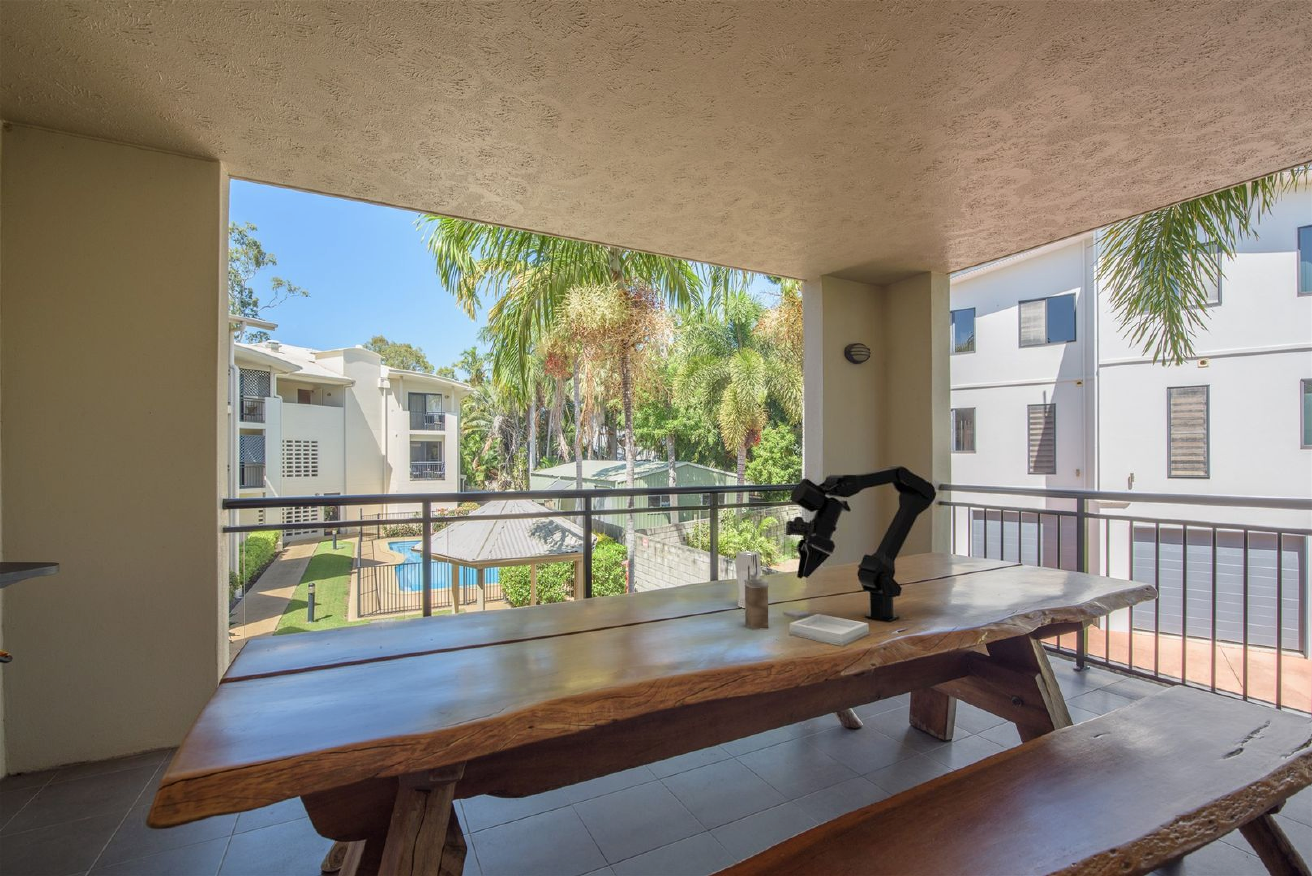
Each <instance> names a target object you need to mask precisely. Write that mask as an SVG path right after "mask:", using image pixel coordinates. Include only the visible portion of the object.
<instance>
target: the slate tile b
mask: <svg viewBox="0 0 1312 876" xmlns="http://www.w3.org/2000/svg"><path fill="white" fill-rule="evenodd" d="M783 614H785V615H784V616H786V615H788V616H787V617H790V616H791V618H794V619H797V618H799V619H804V618H807V617H810V616H812V614H811V612H808V611H805V610H800V609H791V610H785V611H783ZM783 614H782V615H783Z"/></svg>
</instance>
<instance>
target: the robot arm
mask: <svg viewBox="0 0 1312 876" xmlns="http://www.w3.org/2000/svg"><path fill="white" fill-rule="evenodd" d="M887 484H892V486H893V488H894V490H895V491H897V492H898V493H899V495H898V505H899V506H898V510H897V512H896V513H895V515H894V517H893V518H892V521H891V522H890V524H889V527H888V528H887V530H886V532H885V534H884V536H883V538H882V539H881V541H880V543H879V545H878V547H877V549H876V551H875V552H874V553H873V554H872V555H871V554H868V553H867V554H864V555H863V557H862V560H861V562H860V564H859V565H857V568H858V570H857V573H856V575H857V577H858V582H859V583H860V585H861V586H862V587H861V588H862V590H863V592H868V593H869V613H867V614H865V615H864V618H868V619H873V620H878V621H884V622H885V621H886V622H891V621H894V620H896V619H898V618H900V615H899V614H895V607H894V598H896V597H899V596H901V593H902V589H903V588H902V587H901V585H900V584H899V583H898V582H897V581H896V580H895V579H894V577H895V575H896V567H895V561H896V559H897V557H898V555H899V553H900V551H901V550H902V548H903V545H904V543H905V541H906V540H907V537H908V535H909V533H910V532H911V529H912V528H913V526H914V524H915V522H916V520H917V518H918V517H919V515H920V514H922V513H924V511H926V510H927V509H929V507H930V506H931V504H932V503H933V502H934V500H935V499H936V496H937V492H936V490H935V487H934V485H933V484H932V483H931V482H929V481H927V480H925V478H923V477H921V476H919V475H917V474H915V473H913V472H911V471H910V470H909V469H908V468H907V467H905V466H901V465H900V466H889V467H888V468H883V469H878V470H873V471H868V472H862V473H858V474H829V475H828V476H826V477H825V480H824V481H823V482H822V483H820V484H818V485H817V484H816V483H814V482H813V481H812V480H810V479H809V478H802V479H801V481H800V483H798V484H797V485H796V486H795V487H794V489H792V491H791V493H790V500H791V502H792V503H793V504H796V505H798V506H799V507H801V508H803V509H804V510H806V511H808V512H810V513H813V512H815V513H814V515H813V518H812V519H811V520H809V521H808V522H807V521H805V520H804V518H803V517H802V516H795V517H794V518H793V520H787V521H786V522H785V535H786V536H801V537H802V539H800V540H798V542H797V545H796V547H795V549H796V551H797V553H798V555H799V563H798V569H797V574H796V575H797V576H796V578H798V579H802V578H809V577H810V576H811V575H812V574H813V573H814V572H815V571H816V570H818V568H819V567H820V566H821V565H822V564H823V563H824V562H825V561H826V560H827V559H828V558H829V557H830V556H831V554H833V553H834V550H835V548H836V545H835V542H834V540H832V536H833V534H834V533H835V532H836V530H837V529H838V527H836V526H837V524H838V522H839V519H840V516H841V514H842V512H848V513H849V512H851V511H852V510H851V507H850V506H849V504H848V501H847V500H839V499H838V498H850V497H853V496H855V495H857V494H859V493H861V491H863V490H865V489H869V488H875V487H879V486H884V485H887ZM828 496H829V497H828Z"/></svg>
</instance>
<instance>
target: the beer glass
mask: <svg viewBox="0 0 1312 876" xmlns="http://www.w3.org/2000/svg"><path fill="white" fill-rule="evenodd" d="M761 566H762V564H761V553H760V552H758V551H749V550H748V551H745V550H744V551H737V552H736V558H735V575H736V583H737V587H738V601H737V607H738V606H740V607H742V608H741V609H743V608H745V585H744V580H751V579H761V572H762V570H761V569H762V567H761Z"/></svg>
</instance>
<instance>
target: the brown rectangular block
mask: <svg viewBox="0 0 1312 876" xmlns="http://www.w3.org/2000/svg"><path fill="white" fill-rule="evenodd" d="M744 585H745V610H744V614H745V615H744V618H745V619H744V620H745V621H744V622H745V626H746V627H748V626H749V627H750V628H749V627H748V628H749V629H751V630H761V629H760V628H765V629H769V581H766V580H764V579H762V578H760V579H751V580H744Z"/></svg>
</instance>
